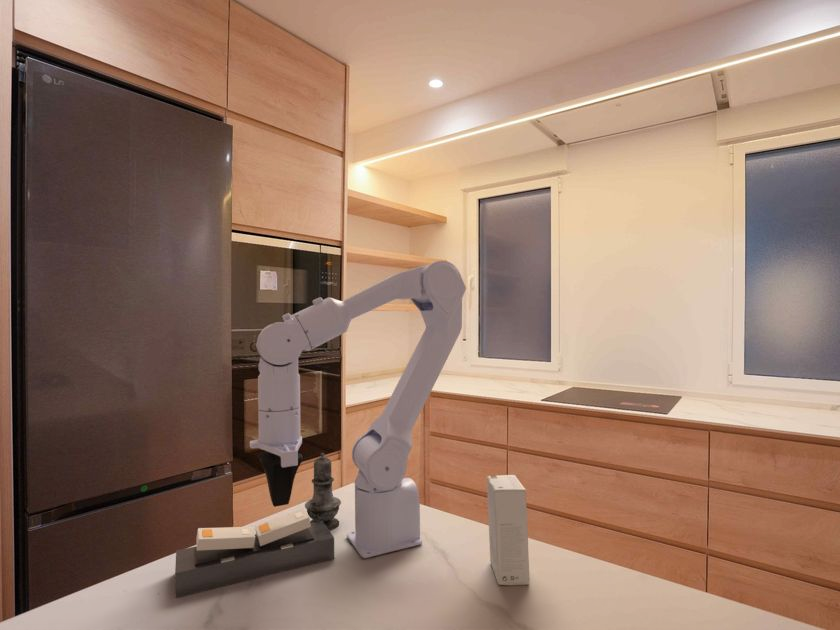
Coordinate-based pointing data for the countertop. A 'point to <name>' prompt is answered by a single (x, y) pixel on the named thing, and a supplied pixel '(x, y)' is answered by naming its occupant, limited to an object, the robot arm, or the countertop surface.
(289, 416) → the robot arm
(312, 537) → the power strip
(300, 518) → the rocker outlet
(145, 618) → the countertop surface
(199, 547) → the white rocker switch
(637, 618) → the countertop surface
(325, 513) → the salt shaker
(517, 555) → the skincare box
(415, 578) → the countertop surface
